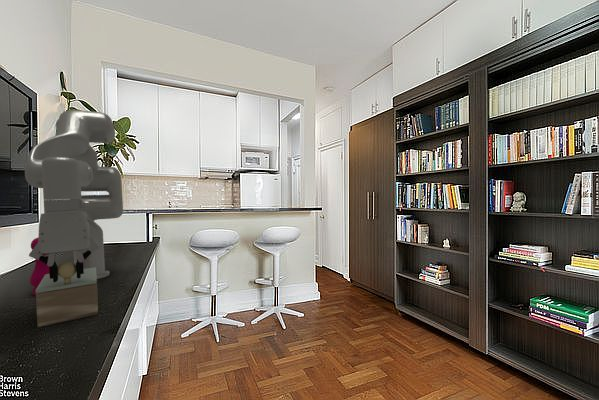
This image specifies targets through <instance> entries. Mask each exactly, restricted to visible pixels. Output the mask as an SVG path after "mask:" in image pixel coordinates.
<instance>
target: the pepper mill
mask: <svg viewBox="0 0 599 400" xmlns="http://www.w3.org/2000/svg"><path fill="white" fill-rule="evenodd" d="M37 243H38V237H36V238H34V239H33V240H32V241H31V242H30V248H31V251H32V250H33V248H34V247H35V246H36V244H37ZM39 253H40V251H39ZM40 254H42V255H45V256H47V257H49V254H43V253H40ZM34 260H35V265H34V269H33V271H32V273H31V276H30V278H29V279H30V280H29V282H30V285H31V286H32V287H34V288H33V289H32V295H33V296H35V297H36V289H37V287H38V285H39V284H40V282H41V281H42V279H43V278H44V276H45V274H50V273H49V266H47V265H46V264H45V263H43V262H41V261H40V260H38V259H35V258H34Z"/></svg>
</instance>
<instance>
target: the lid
mask: <svg viewBox="0 0 599 400" xmlns="http://www.w3.org/2000/svg"><path fill="white" fill-rule="evenodd" d="M57 266H58V268H57V274H58V281H56V282H53V278H52V279H50V274H45V276H44V278H43V279H42V281H41V282H40V284H39V285H38V287H37V289H36V293H41V292H47V291H53V290H59V289H65V288H71V287H77V286H83V285H89V284H95V283H97V282H98V279H97V280H96V267H94V268H87V269H84V274H81V278H79V279H78V278H77V271H76V265H75V264H74V262H72V261H65V262H62V263H61V264H59V265H57ZM97 284H98V283H97Z"/></svg>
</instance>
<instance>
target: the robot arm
mask: <svg viewBox="0 0 599 400" xmlns="http://www.w3.org/2000/svg"><path fill="white" fill-rule="evenodd" d="M55 129H56V131H55V133H54V134H55V135H54V136H51V137H49V138H47V139H45V140H43V141H41V142H39V143H37V144H35V146H33V147H32V149H31V150H29V153H28V156H27V159H26V162H25V163H26V164H25V168H24V177H25V178H24V179H25V180H26V182H27V184H29V185H30V186H31V187H33V188H36V189H42V191H43V192H42V195H43V212H44V213H40V217H39V224H38V237H37V238H38V243H37V244H36V246H35V247H34V248H33V250H32V249H31V251H30V252H29V254H28V257H30V258H32V259H34V260H35V259H38V260H40V261H41V262H43V263H45V264H46V265H47V266H49V273H50V279H52V278H53V282H56V281H58V274H57V268H58V266H59V265H58V264H57V262H56V257H57V254H60V253H61V254H63V253H71V252H72V253H73V263H74V264H75V265H76V271H77V278H78V279H79V278H81V274H84V269H87V268H94V267H96V276H97V280H101V279H104V278H106V277H108V276H110V274H111V272H110V271H109V270H106V265H105V261H106V260H105V247H104V245H105V244H104V231H103V229H102V227H101V225H99V224H98V223H97V222H95V221H97V220H111V219H113V220H114V219H119V218H120V217H121V216H122V215H123V212H124V211H123V210H124V202H123V188H122V187H123V186H122V184H123V183H122V177H121V173H120V171H119V169H118V168H116V167H112V166H99V165H98V164H99V163H98V162H99V161H98V153H97V152H96V151H95V149H94V148H93V146H91V145H90V144H91V143H96V144H111V143H113V142H114V140H115V137H116V129H115V126H114V123H113V120H112V118H111V117H110V116H109V115H108V114H107V113H104V112H101V111H91V110H89V111H88V110H79V109H68V110H64V111H63V112H62V113H61V114H60V115H59V117H58V119H57V120H56V122H55ZM82 192H84V193H85V192H107V193H108V194H83V195H82ZM39 251H40V253H43V254H49V257H47V256H45V255H42V254H40V253H39Z"/></svg>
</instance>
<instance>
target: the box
mask: <svg viewBox="0 0 599 400" xmlns="http://www.w3.org/2000/svg"><path fill="white" fill-rule="evenodd" d="M96 280H97V281H98V279H97V276H96ZM98 299H99V297H98V283H95V284H89V285H83V286H77V287H71V288H65V289H59V290H53V291H47V292H41V293H36V296H35V301H36V302H35V304H36V319H37V321H36V322H37V328H40V327H44V326H45V327H46V326H51V325H54V324H59V323H65V322H70V321H74V320H78V319H83V318H87V317H92V316H97V315H99V300H98Z"/></svg>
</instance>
